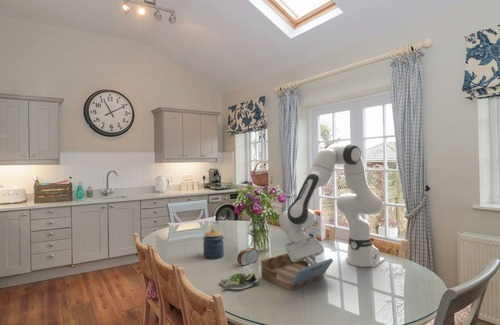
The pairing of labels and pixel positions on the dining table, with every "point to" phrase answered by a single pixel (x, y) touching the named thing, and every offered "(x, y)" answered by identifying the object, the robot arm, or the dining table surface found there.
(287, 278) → the wooden tray box
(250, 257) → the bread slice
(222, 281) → the salad plate
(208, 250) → the canister
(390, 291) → the dining table surface
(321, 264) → the panel
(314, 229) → the cracker box
